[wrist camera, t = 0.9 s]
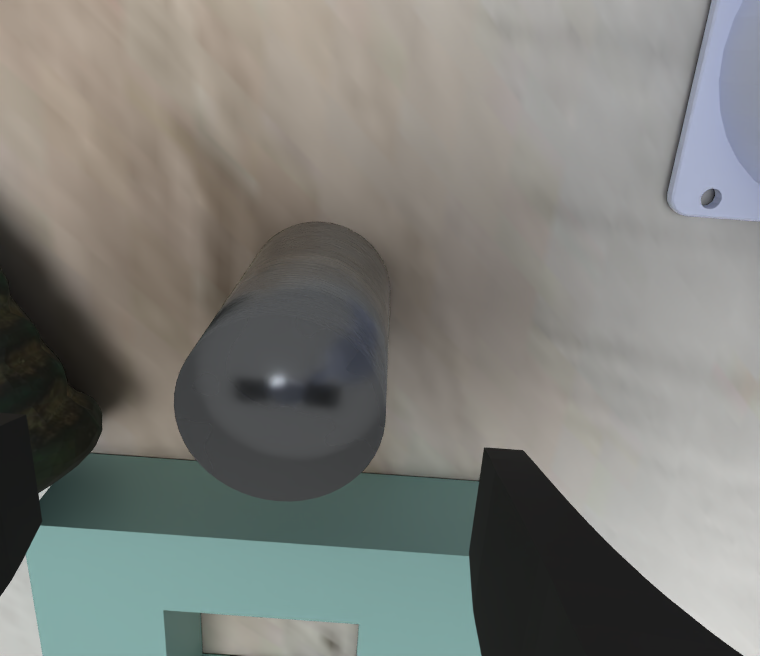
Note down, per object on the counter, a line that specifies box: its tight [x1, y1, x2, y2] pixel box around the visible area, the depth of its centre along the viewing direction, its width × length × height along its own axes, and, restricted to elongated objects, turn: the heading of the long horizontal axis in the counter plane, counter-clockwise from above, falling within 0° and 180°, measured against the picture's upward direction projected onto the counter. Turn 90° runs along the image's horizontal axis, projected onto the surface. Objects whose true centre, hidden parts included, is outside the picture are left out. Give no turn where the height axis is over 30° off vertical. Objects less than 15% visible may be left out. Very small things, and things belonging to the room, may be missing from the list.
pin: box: [174, 222, 390, 501], centre depth 16 cm, size 4×4×7 cm
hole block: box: [26, 453, 481, 656], centre depth 22 cm, size 13×11×4 cm
